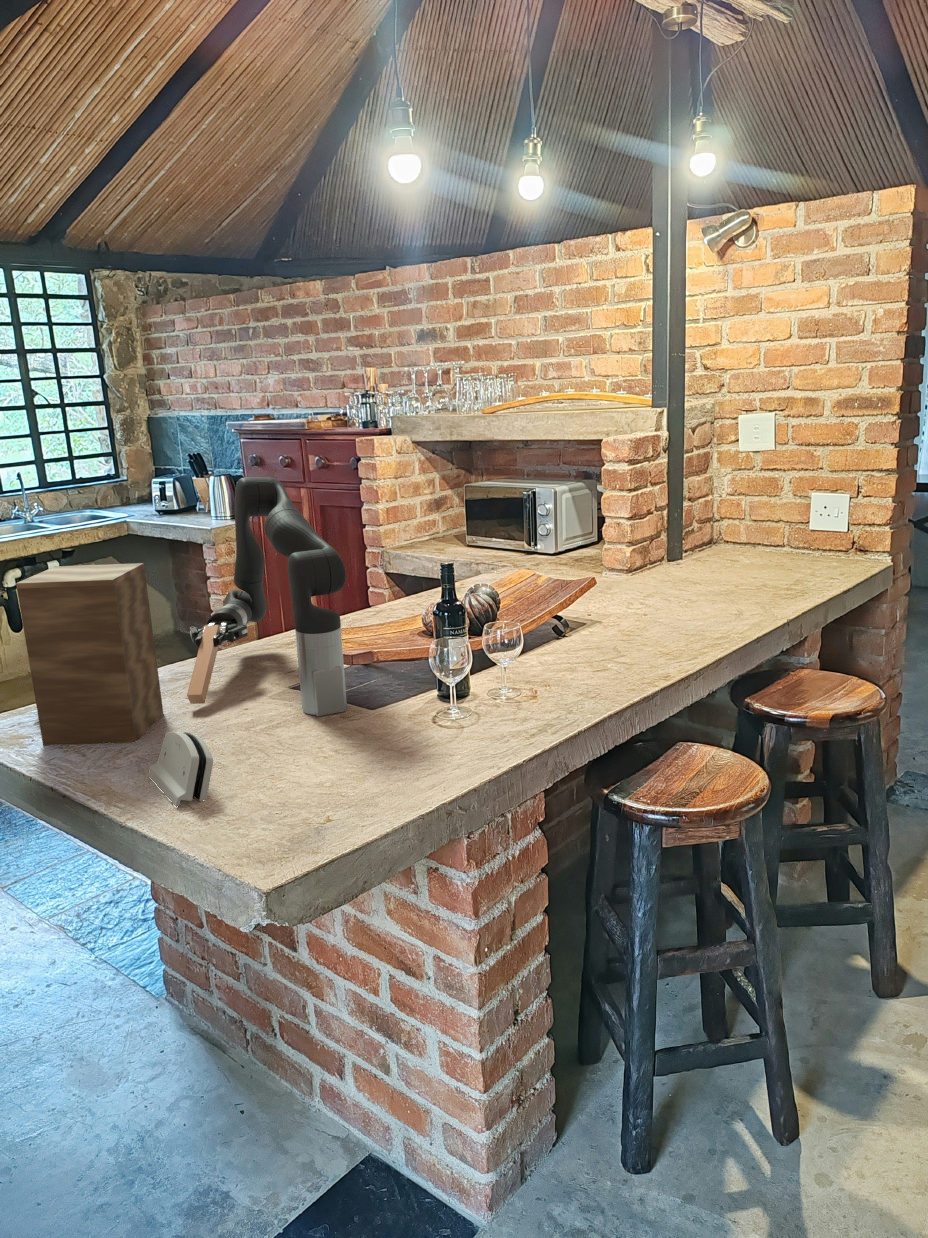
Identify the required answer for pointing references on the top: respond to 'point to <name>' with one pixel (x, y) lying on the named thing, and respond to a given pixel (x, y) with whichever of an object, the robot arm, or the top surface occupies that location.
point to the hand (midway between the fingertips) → (207, 642)
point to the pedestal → (91, 653)
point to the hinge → (183, 767)
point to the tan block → (203, 666)
